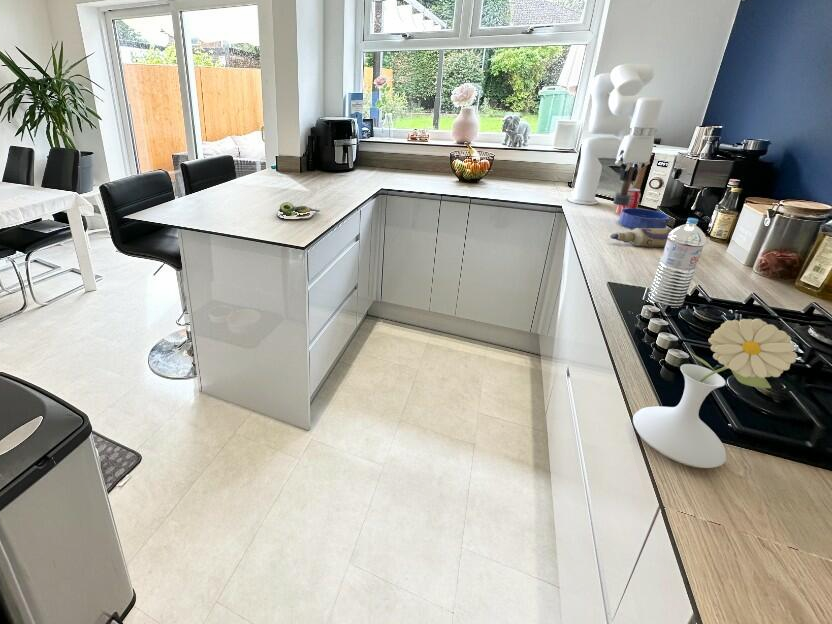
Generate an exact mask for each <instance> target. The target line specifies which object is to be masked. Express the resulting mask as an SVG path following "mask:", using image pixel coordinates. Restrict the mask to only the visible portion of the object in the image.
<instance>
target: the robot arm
mask: <svg viewBox="0 0 832 624" xmlns="http://www.w3.org/2000/svg"><path fill="white" fill-rule="evenodd" d="M654 75H655V68H654V66H653V65H652V64H651V63H643V62H641V63H640V62H639V63H637V62H636V63H622V64H619V65H617V66H615V67H614V68H613V69H612V70H611V72H603V73H600V74H597V75H596V76H595V77H594V78H593V79H592V82H591V85H590V86H591V87H590V94H591V102H592V105H591V110H590V117H589V123H588V132H589V133H590V134H593V135H607V136H609V135H610V136H611V135H612V136H613V137H600V136H593V137H587V138H585V139H584V140H583V141H582V142H581V146H580V149H581V150H580V159H579V166H578V170H577V174H576V179H575V184H574V188H573V190H571V191H570V194H571V196H569V197H568V198H567V201H569V202H571V203H572V204H573V203H574V204H578V205H584V206H586V205H587V206H592V205H594V206H595V205H597V204H598V203H599V201H598V200H597V199H596V195H597V191H598V187H599V183H600V179H601V175H602V171H603V165H602V163H601V162H600V160H599V159H615V162H614V164H615V165H616V166H618V167H619V168H620V170H621V173H620V176H619V180H620V181H622V182H623V181H627V180H628V177H629V173H630V171H628V170H629V168H630V166H635V170H634V173H633V177H632V180H631V182H636V180H637V178H638V173H639V172H640V171H642V169H643V168H644V167H646V166H648V165H650V164H651V157H652V154H653V149H654V143H655V136H654V133H657V132H658V131H657V128H656V126H657V123H658V120H659V116H660V113H661V109H662V106H663V102H664V100H663V98H661V97H656V96H654V95H638V94H639V93H640V92H641V91H642V89H643V88H644V87H646V86H647V85H648V84H649V83H651V81H652V80H653V78H654ZM630 117H631V118H630Z"/></svg>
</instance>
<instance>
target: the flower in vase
mask: <svg viewBox="0 0 832 624" xmlns="http://www.w3.org/2000/svg"><path fill="white" fill-rule="evenodd" d="M713 332H714V333H712V334H711V335H710V337H709V338H708V341H707V342H708V343H710V345H711V346H710V350H711V352H713V355H712V358H713V359H714V360H716V361H718V364H720V365H724V366H723V367H721V368H720V367H719V368H718V369H714V368H713V367H712V366H711V365H710V364H709V363H708V362H707V361H706V360H704V359H703V358H701V357H699V356H698V355H695V354H694V353H693V352H692V351H691V350H690V349H689V348H687V350H688V352H689V353H690V354H691V355H692V356H693V358H695V359H696V360H697V361H698V362H701V363H702V364H703V365H705V366H707V367H709V368H707V367H705V366H701V365H699V364H692V363H684V364H682V365H680V367H679V369H680V371H681V373H682V375H683V379H684V389H683V394H682V396H681V399H680V401H679V403H678V404H677V405H676V406H661V405H660V406H659V405H656V406H646V407H642V408H640V409H639V410H637V411H636V412H635V413H634V414H633V416H632V423H633V426H634V428H635V431H636V433H637V434H638V435H639V436H640V438H641V439H642V440H643V441H644V442H645V443H646V444H648V446H650V447H651V448H652V449H654V450H655V451H656V452H658V453H659V454H661V455H663V456H664V457H666V458H668V459H670V460H672V461H675V462H677V463H680V464H682V465H685V466H688V467H694V468H698V469H699V468H700V469H712V468H717V467H720V466H722V465H723V464H725V462H726V460H727V454H726V448H725V446H724V443H723V442H722V441H721V439H720V438H719V436H718V435H717V434H716V433H715V432H714V431H713V430H712V429H711V427H709V425H707V424H706V423H705V422H704V421H703V420H701V418H700V415H699V413H700V409H701V406H702V404H703V402H704V401H705V400H706V397H707V396H708V395H709V394H710V393H711V392H712V391H714V390H716V389H718V388H722V387H724V386H726V380H725V379H724V377H722V376H721V375H720V374H719V373H720V372H723V371H725V370H727V369H730V370H731V372H732V375H733V376H734V377H735V379H736V380H737V382H739V383H740V384H742V385H745V386H748V387H754V388H761V389H772V386H771V385H770V383H769V381H768V380H767V379H766V378H770V377H773V378H779V377H780V376H781V374H783V373H784V371H788V370H790V368H791V364H794V363H796V361H797V359H796V358H798V354H797V353H796V352H795V351H794V349H795V345H794V344H793V343H791V341H792V337H791V336H790V335H789V334H788V333H787V332H786V331H784V330H780V329H779V328H778V327H777V326H776V325H774V324H768V323H767V322H766V321H763V319H760V318H754V319H752V318H747V319H746V318H741V319H740V320H737V319H733V320H730V319H728V320H725V321H724V322H723V323H721V324H720V327H718V328H717V329H716V328H715V330H714V331H713Z"/></svg>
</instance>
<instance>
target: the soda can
mask: <svg viewBox="0 0 832 624" xmlns="http://www.w3.org/2000/svg"><path fill="white" fill-rule="evenodd" d="M628 194H631V195H632V196H631V198H630V202H629V205H627V206H623V205H617V206H616V212H615V213H616V214H617V215H619V217H620V216H621V212H622V210H623V209H627V208H637V209H638V208H639V204H640V199H641V195H642V193H641V189H639V188H635V187H629V191H628Z"/></svg>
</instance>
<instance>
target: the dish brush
mask: <svg viewBox="0 0 832 624" xmlns="http://www.w3.org/2000/svg"><path fill="white" fill-rule="evenodd" d="M634 170H635V166H633V165H630V168H629V170H628V171H630V173H629V177H628V180H627V181H622V185H621V188H620V192H618V191H617V192H615V194H614V199H613V201H612V202H613V204H614V205H617V206H618V205H623V206H627V205H629V202H630V198H631V196H632V195H631V194H628V191H629V188H631V183H632V181H631V180H632V177H633V173H634Z"/></svg>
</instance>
